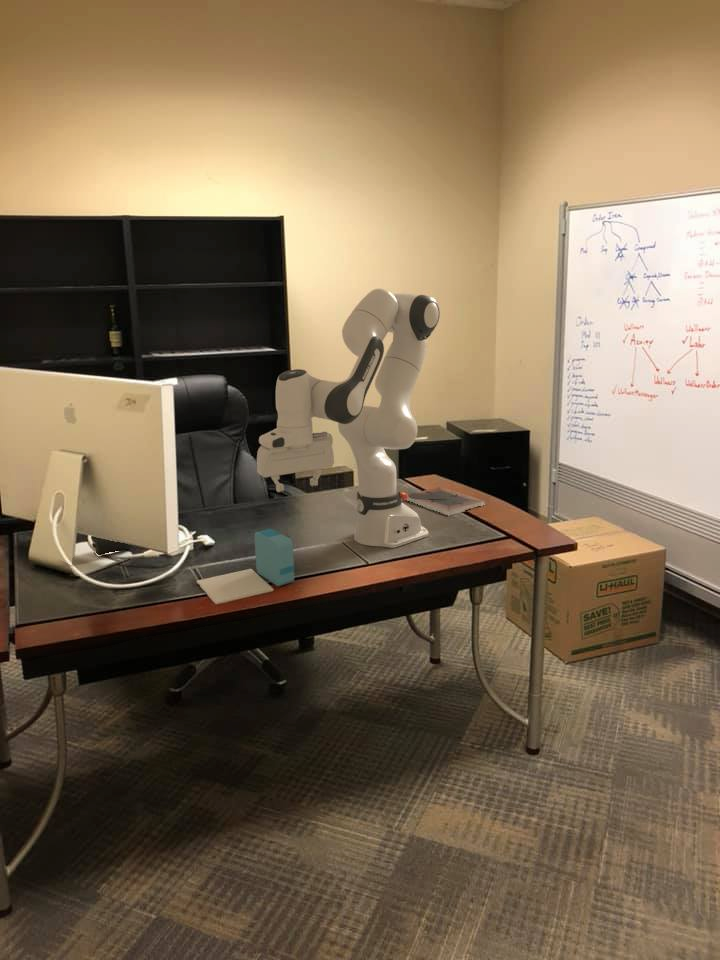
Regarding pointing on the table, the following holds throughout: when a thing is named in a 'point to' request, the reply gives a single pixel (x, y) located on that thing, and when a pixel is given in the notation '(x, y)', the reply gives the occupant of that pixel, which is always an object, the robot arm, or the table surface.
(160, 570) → the table surface
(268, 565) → the blue box
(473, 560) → the table surface
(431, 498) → the picture frame
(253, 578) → the grey pad
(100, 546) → the end cap
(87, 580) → the table surface
